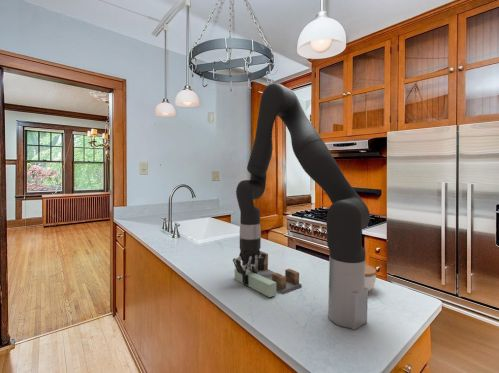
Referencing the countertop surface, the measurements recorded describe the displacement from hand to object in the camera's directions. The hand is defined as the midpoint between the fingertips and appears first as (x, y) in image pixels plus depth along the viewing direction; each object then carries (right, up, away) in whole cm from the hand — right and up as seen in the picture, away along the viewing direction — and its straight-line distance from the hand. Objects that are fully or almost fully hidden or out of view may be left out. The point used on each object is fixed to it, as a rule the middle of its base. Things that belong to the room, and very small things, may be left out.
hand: (249, 283), depth 95 cm
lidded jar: (+38, -1, -4) cm, 38 cm away
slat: (+2, 0, -2) cm, 3 cm away
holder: (+8, 0, +5) cm, 9 cm away
